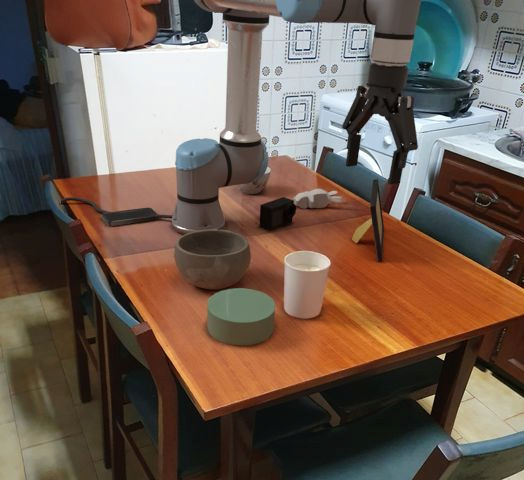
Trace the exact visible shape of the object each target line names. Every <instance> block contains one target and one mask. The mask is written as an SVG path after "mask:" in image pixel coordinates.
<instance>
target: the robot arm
mask: <svg viewBox="0 0 524 480" xmlns="http://www.w3.org/2000/svg"><path fill="white" fill-rule="evenodd" d="M193 1H194V3H195V4H196V5H197V6H198V7H200V8H201V9H202V10H204V11H206V12H209V13H216V14H222V22H223V23H224V25H225V26H226V27H227V29H228V30H227V61H226V93H225V94H226V95H225V96H226V97H225V100H226V101H225V123H224V124H225V125H224V128H223V129H222V131H220V133H219V142H218V141H217V140H216V139H213V138H205V137H204V138H192V139H189V140H185V141H184V142H182V143H181V144H179V145H178V147H177V148H176V151H175V161H174V165H175V175H176V177H175V178H176V198H177V199H176V202H175V206H174V210H173V213H172V214H159V213H156V214H148V215H153V216H157V218H158V219H171V227H172V228H173V230H174V231H175V232H176V233H179V234H182V235H185V234H187V233H190V232H194V231H200V230H208V229H217V230H225V228H226V219H225V216H224V213H223V209H222V206H221V202H220V189H222V188H227V187H232V186H233V187H234V186H238V185H239V184H248V183H251V182H254V181H257V180H259V179H260V178H261V177H262V176H263V175H264V174H265V172H266V169H267V167H269V152H268V151H267V150H268V148H267V146H266V144H265V142H264V141H263V140H262V135H261V133H259V132H258V131H257V125H258V108H259V94H260V93H259V91H260V77H261V63H262V46H263V32H264V30H265V29H266V28H267V27H268V26H269V25H270V16H271V17H277V18H281V19H282V20H284V21H285V22H288V23H294V24H299V25H302V24H303V25H304V24H318V23H319V24H321V23H322V24H323V23H326V24H361V25H370V26H374V32H373V39H372V44H371V52H370V60H371V61H372V62H371V63H370V64H369V66H368V74H367V81H366V82H367V84H365V85H357V89H356V94H355V97H354V99H353V102H352V103H351V106H350V108H349V110H348V112H347V114H346V117H345V119H344V120H343V122H342V125H341V128H342V130H345V131H346V133H347V141H346V150H347V153H346V159H345V167H347V168H348V167H349V168H350V167H355V166H358V161H359V155H360V147H361V141H362V132H361V130H363V128H364V127H365V126H366V124H367V123H368V122H369V121H370V120H371V118H372V117H373V116H374V115H378V116H380V117H384V119H385V121H387V122H388V126H389V128H390V129H389V130H390V132H391V135H392V138H393V141H394V144H395V147H396V149H395V150H393V153H392V159H391V165H390V170H389V174H388V175H389V176H388V181H387V182H388V183H387V184H388V185H397V184H400V183H401V181H402V175H403V169H405V167H406V165H407V160H408V156H409V152H413V151H417V150H418V149H419V144H418V137H417V136H418V135H417V129H416V123H415V122H416V121H415V114H414V103H415V97H414V96H413V95H408V96H403V89H404V87H406V85H407V81H408V76H409V75H408V74H409V66H408V65H407V64H409V63H410V62H411V58H412V57H411V56H412V51H413V46H414V39H415V34H416V33H415V32H416V26H417V22H418V17H419V13H420V7H421V3H422V0H193ZM60 200H61V204H60V205H62V204H63V203H65V202H69V201H73V202H80V203H84V204H89V205H91V206H92V207H93V209H94V210H95V211H96V212H98V213H100V214H103V213H108V212H110V211H108V210H104V209H101V208H99V207H98V206H97V204H96V203H95V202H94V201H92V200H88V199H84V198H79V197H72V196H68V197H64V198H62V199H60ZM112 212H113V213H115V212H116V211H112ZM121 214H124V213H121Z"/></svg>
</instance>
